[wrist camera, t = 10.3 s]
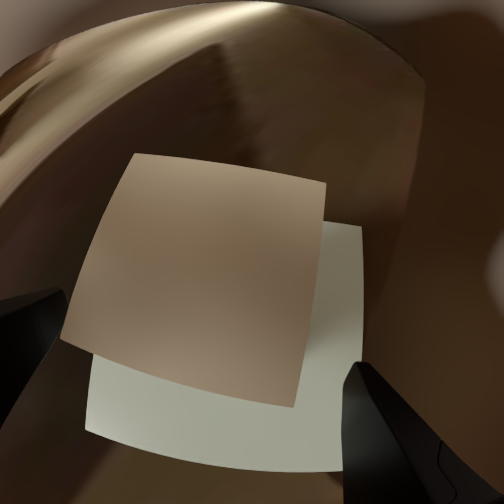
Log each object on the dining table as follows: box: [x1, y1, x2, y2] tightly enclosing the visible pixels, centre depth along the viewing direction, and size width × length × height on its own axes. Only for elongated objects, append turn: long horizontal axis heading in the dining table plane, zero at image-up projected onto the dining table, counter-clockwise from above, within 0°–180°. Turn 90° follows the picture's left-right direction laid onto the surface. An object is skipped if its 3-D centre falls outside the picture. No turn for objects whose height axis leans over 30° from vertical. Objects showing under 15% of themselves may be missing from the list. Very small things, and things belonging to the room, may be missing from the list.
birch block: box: [60, 153, 326, 408], centre depth 12 cm, size 5×5×13 cm
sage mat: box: [85, 221, 364, 472], centre depth 18 cm, size 18×18×1 cm
